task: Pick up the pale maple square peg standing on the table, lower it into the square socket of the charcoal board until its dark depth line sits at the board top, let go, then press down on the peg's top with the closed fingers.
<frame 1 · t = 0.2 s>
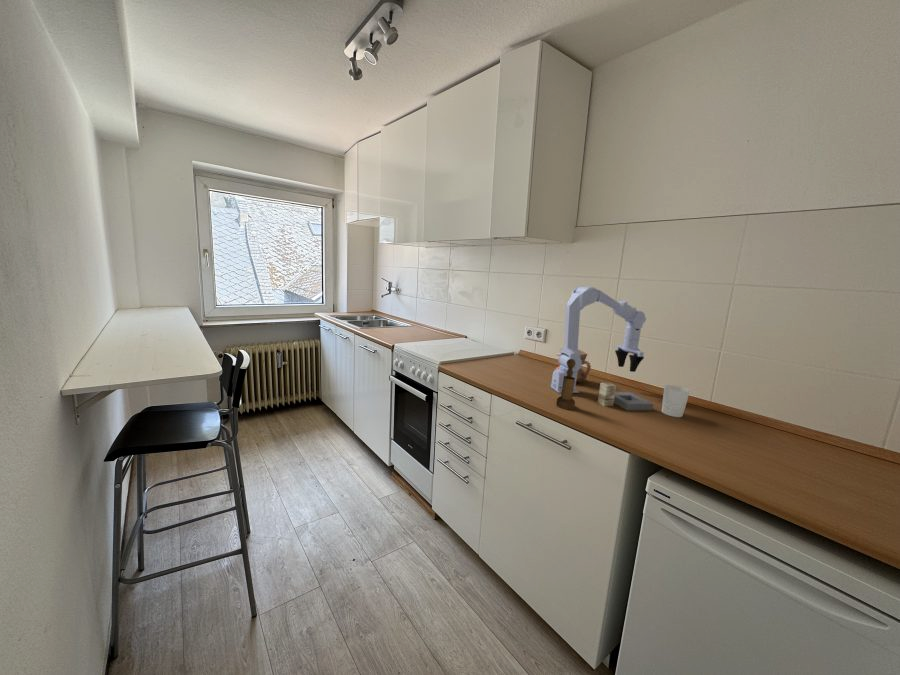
hand: (626, 368, 155), 10 cm above the worktop, tool pointing down, fingers open, 7 cm apart
brown capped rod: (565, 406, 134), on the worktop
socket board: (628, 403, 141), on the worktop
peg: (605, 404, 139), on the worktop
white cup: (671, 414, 134), on the worktop
ceramic jug: (570, 380, 168), on the worktop
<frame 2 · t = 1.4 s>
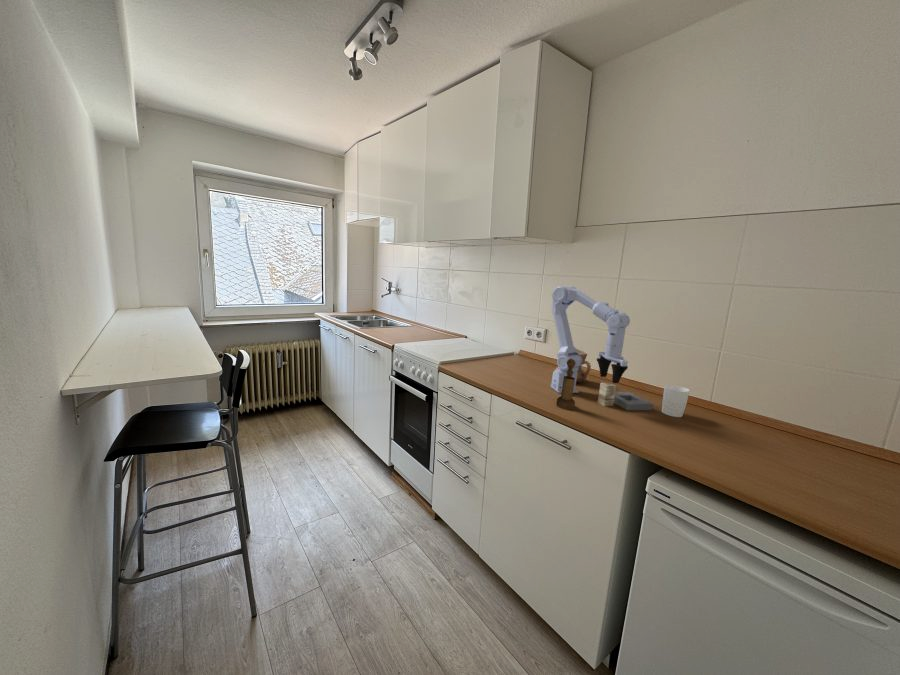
hand: (609, 379, 137), 10 cm above the worktop, tool pointing down, fingers open, 7 cm apart
nothing on the worktop moved.
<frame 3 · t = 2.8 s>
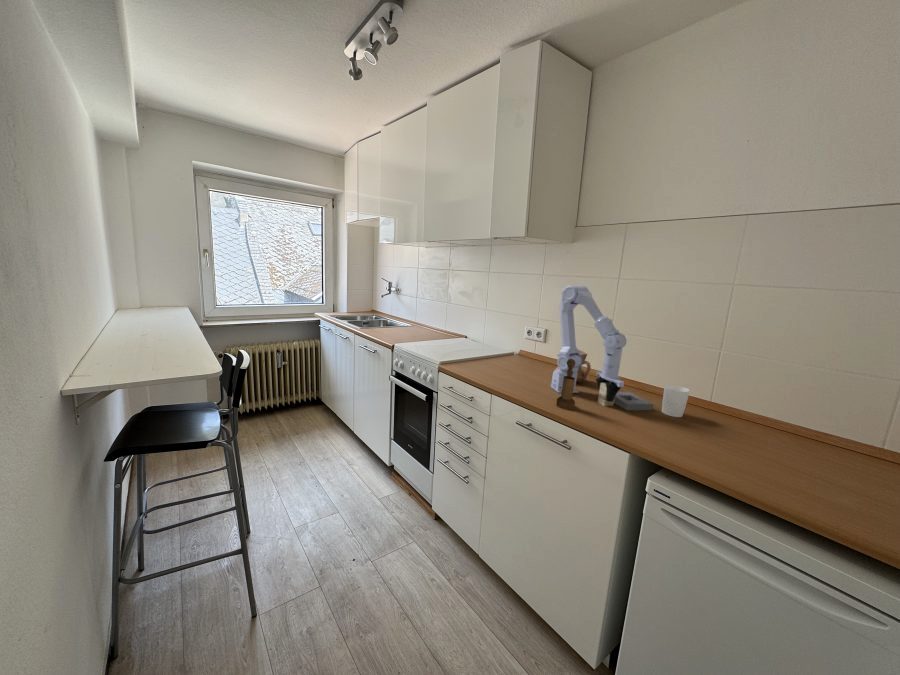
hand: (606, 399, 139), 2 cm above the worktop, tool pointing down, fingers closed on peg, 4 cm apart
peg: (605, 403, 139), on the worktop, touching gripper
everything else where it was.
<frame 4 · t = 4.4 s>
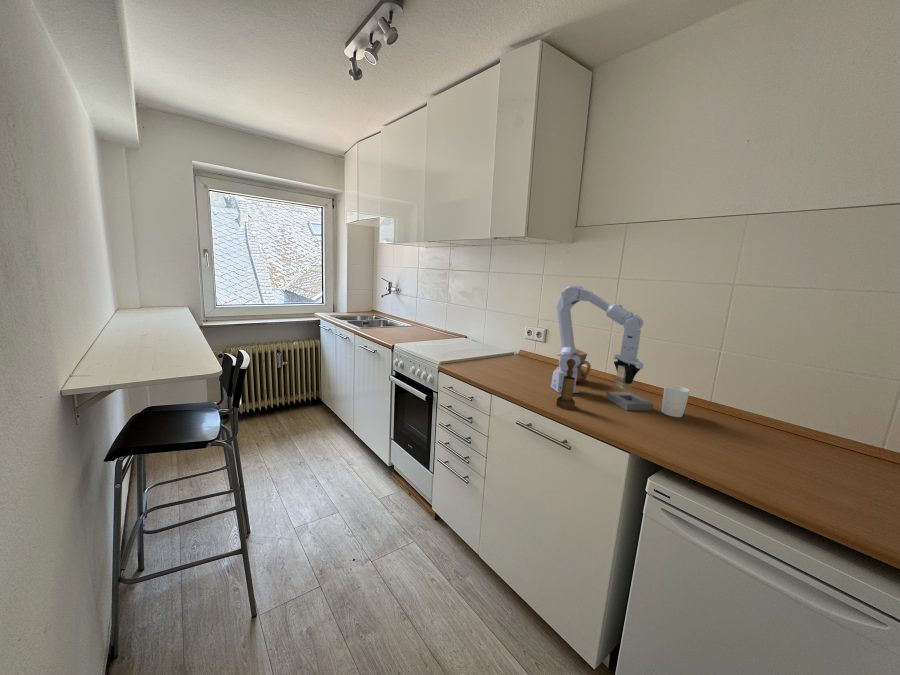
hand: (624, 381, 139), 9 cm above the worktop, tool pointing down, fingers closed on peg, 4 cm apart
peg: (623, 386, 139), point 7 cm above the worktop, touching gripper
everything else where it was.
when the fingers open (3 cm above the worktop, at t = 6.4 s): peg drops 1 cm, resting in socket board.
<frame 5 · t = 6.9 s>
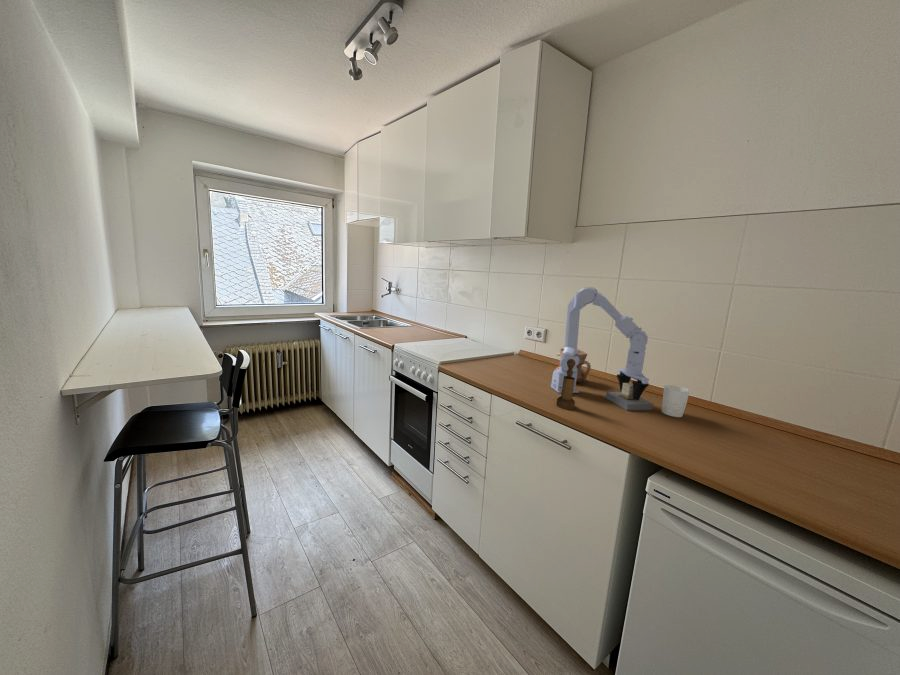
hand: (629, 395, 140), 3 cm above the worktop, tool pointing down, fingers open, 7 cm apart
peg: (627, 403, 141), resting in socket board
everything else where it was.
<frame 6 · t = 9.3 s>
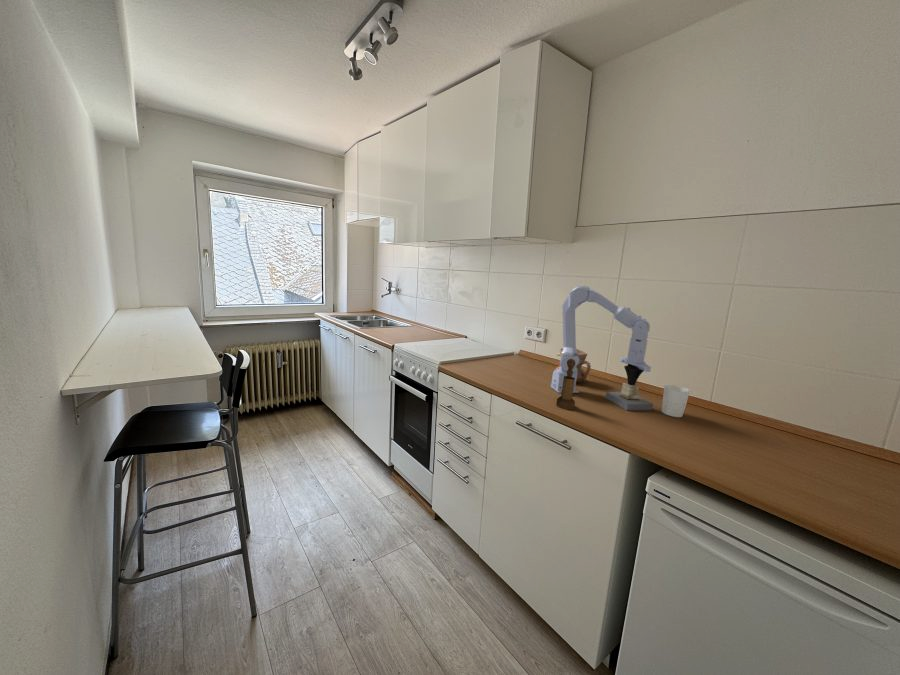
hand: (631, 384, 140), 8 cm above the worktop, tool pointing down, fingers closed, pressing on peg
peg: (627, 403, 141), resting in socket board, touching gripper
everything else where it was.
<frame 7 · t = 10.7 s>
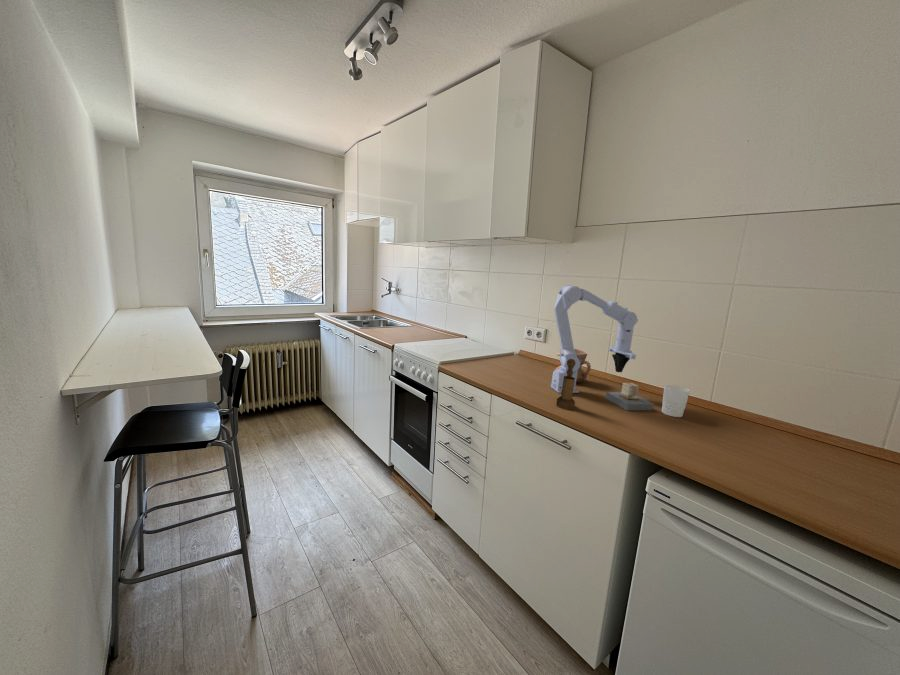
hand: (618, 371, 150), 10 cm above the worktop, tool pointing down, fingers closed
peg: (627, 403, 141), resting in socket board
everything else where it was.
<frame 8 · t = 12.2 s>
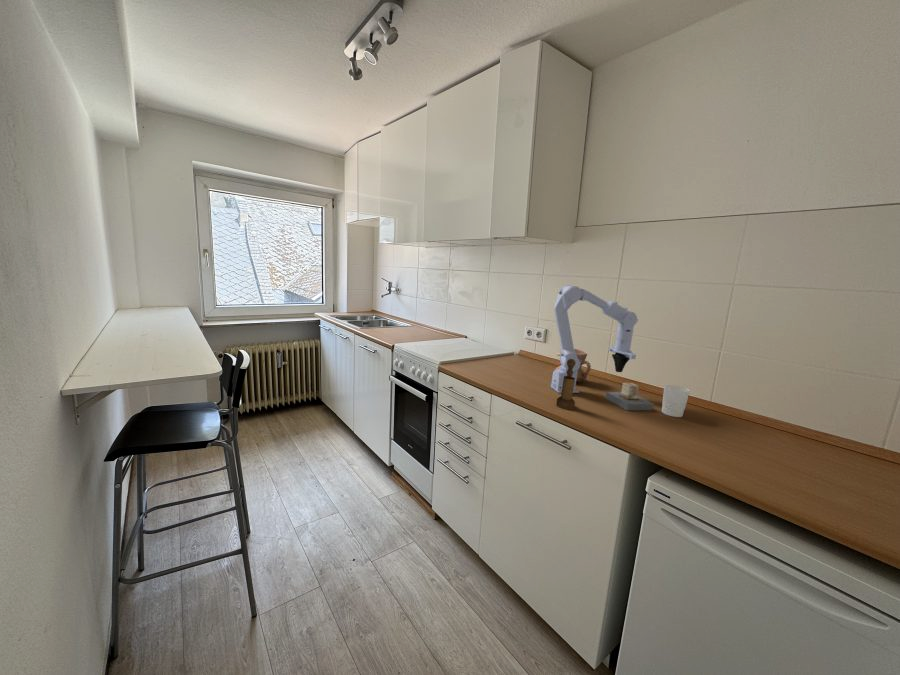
hand: (618, 371, 150), 10 cm above the worktop, tool pointing down, fingers closed
nothing on the worktop moved.
at the end: peg 0.2 cm off-centre on the socket board, point 0.0 cm above the socket board's base; peg tilted 0°; the gripper is holding nothing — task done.
